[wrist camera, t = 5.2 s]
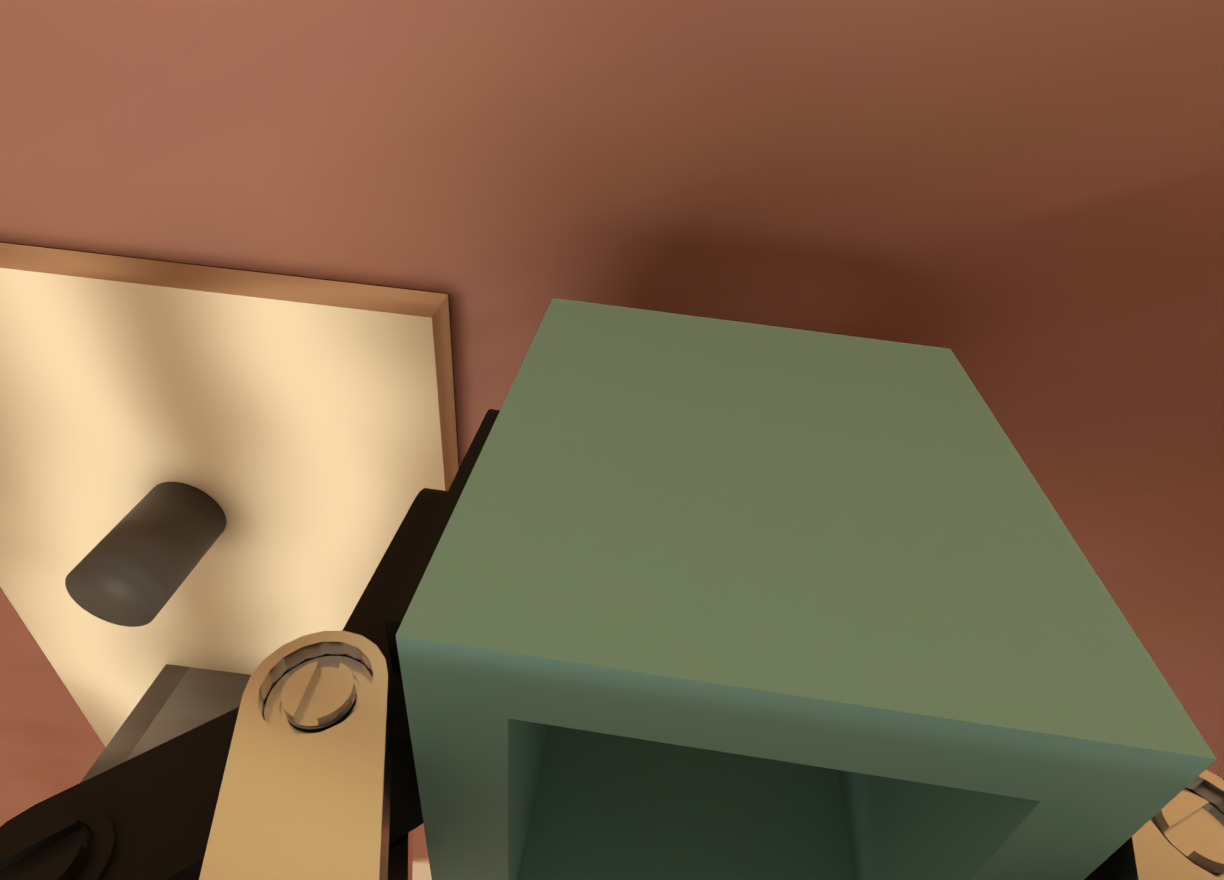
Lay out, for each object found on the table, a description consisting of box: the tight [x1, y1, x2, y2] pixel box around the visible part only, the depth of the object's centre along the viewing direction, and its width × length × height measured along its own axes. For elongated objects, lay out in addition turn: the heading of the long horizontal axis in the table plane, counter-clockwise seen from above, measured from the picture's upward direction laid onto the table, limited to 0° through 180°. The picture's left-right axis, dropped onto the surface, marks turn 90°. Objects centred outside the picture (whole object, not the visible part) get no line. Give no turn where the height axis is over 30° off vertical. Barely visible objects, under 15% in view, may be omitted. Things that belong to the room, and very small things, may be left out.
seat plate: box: [0, 243, 459, 783], centre depth 19 cm, size 14×22×7 cm, turn 175°
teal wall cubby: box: [396, 298, 1217, 880], centre depth 9 cm, size 6×6×6 cm
